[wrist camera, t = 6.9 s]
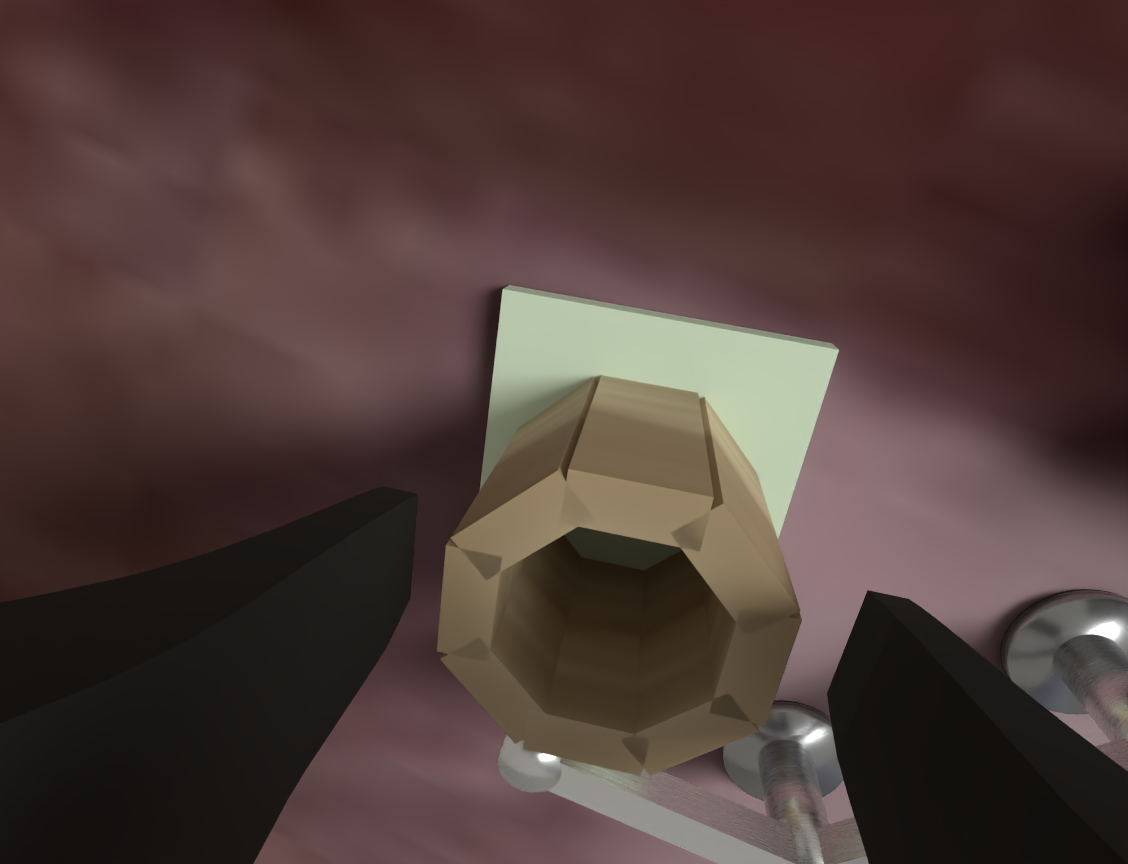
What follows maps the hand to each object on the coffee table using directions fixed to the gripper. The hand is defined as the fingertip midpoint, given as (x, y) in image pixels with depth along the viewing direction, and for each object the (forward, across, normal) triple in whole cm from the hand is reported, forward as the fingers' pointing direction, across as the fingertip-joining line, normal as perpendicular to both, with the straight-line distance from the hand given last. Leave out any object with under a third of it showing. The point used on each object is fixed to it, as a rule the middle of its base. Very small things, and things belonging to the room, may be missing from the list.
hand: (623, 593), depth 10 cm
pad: (+5, 0, 0) cm, 5 cm away
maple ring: (+5, 0, +1) cm, 5 cm away
